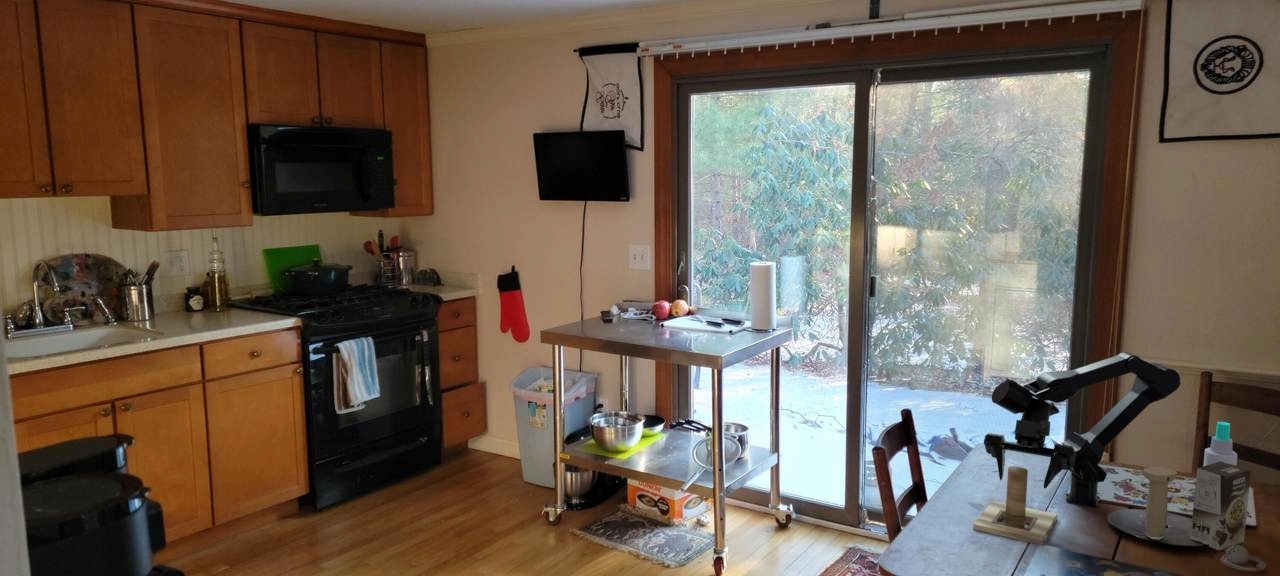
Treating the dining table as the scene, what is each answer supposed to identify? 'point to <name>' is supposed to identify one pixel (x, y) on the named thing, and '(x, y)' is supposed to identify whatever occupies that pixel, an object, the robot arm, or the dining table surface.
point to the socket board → (1034, 533)
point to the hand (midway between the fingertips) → (1022, 483)
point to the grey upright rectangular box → (1220, 504)
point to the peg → (1016, 496)
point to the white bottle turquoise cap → (1221, 447)
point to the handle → (1157, 499)
